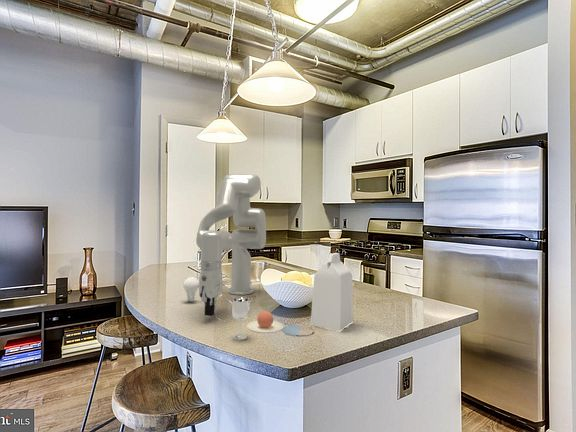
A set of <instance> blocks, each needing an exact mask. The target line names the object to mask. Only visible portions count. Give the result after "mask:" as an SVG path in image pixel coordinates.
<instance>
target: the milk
mask: <svg viewBox="0 0 576 432" xmlns="http://www.w3.org/2000/svg"><path fill="white" fill-rule="evenodd" d="M352 274H353V273H352V272H351V270H350V269H349V268H348V267H347V266H346V264H344V263H343V262H342V261H341V255H340V252H339V253H338V252H335V253H330V254H329V255H328V259H327V261H326V262H324V264H323V265H322V266H321V267H320V268H319V269H318V270H317V271H316V272H315V274H314V277H313V288H312V299H311V300H312V301H311V314H310V316H311V317H310V325H315V326H319V327H325V328H331V329H335V330H341V329H343V328H344V327H345V326H347V325H348V324H349V323H351V322H352V321H353V322H354V309H353V308H354V306H353V305H354V304H353V302H354V300H353V296H354V295H353V275H352Z"/></svg>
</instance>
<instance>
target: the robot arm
mask: <svg viewBox="0 0 576 432" xmlns="http://www.w3.org/2000/svg"><path fill="white" fill-rule="evenodd" d="M261 183H262V182H261V179H260V177H259V176H258V175H256V174H241V173H239V174H238V173H237V174H235V173H233V174H227V175H224V177H223V179H222V181H221V184H220V188H219V192H218V196H217V199H216V200H217V201H216V205H215V207H214V208H212V209H211V210H210V211H208V212H207V213H206V214H205V216H204V217H203V218H202V220H201V221H200V223H199V225H198V230H197V234H196V239H195V240H196V245H197V247H198V248H199V249H201V250H200V276H199V288H198V295H199V298H201V301H200V302H201V303H204V304H203V305H204V316H209V317H213V316H214V315H215V313H216V312H215V311H216V310H215V308H216V307H215V306H216V305H215V304H216V301H217V297H218V296H220V295H222V294H223V271H222V262H223V261H222V257H223V251H228V250H230V249H231V274H230V275H231V279H230V280H231V281H230V288H228V289H227V293H228V294H230V295H234V296H235V295H236V296H244V295H251V294H254V289H253V288H251V286H252V285H253V284H252V281H251V278H252V277H251V274H252V257H251V254H250V252H249V251H248V250H249V249H253V250H261V249H264V248H265V246H266V244H267V243H266V242H267V226H266V225H267V224H266V223H267V221H266V220H267V219H266V213H265V211H264V210H263V208H260V207H259V208H257V207H255V208H254V207H251V198H253V197H255V195H257V194H258V193H259V191H260V189H261ZM231 217H232V220H233V224H234V226H236V227H238V228H237V229H234V230H233V231H232V232H229V231H226V230H225V231H224V230H212V229H211V230H210V228H211V227H212V226H213V225H215V224H216V223H219V222H221V221H223V220H226V219H228V218H231ZM239 227H240V228H239ZM250 228H251V229H250ZM252 228H253V229H252Z"/></svg>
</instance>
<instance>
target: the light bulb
mask: <svg viewBox="0 0 576 432" xmlns="http://www.w3.org/2000/svg"><path fill="white" fill-rule="evenodd" d="M199 283H200V280H199V279H197V277H193V276H189V277H188V278H186V279H185V280H184V282H183V288H184V290H185V292H186V296H187V302H189V303H192V302H194V301H195V296H196V292H197V291H198V290H199Z"/></svg>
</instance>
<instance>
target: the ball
mask: <svg viewBox="0 0 576 432" xmlns="http://www.w3.org/2000/svg"><path fill="white" fill-rule="evenodd" d="M256 321H257V322H258V324H259V326H260V327H262V328H268V327H270V326H271V325H272V323H273V321H274V316H273V314H272V313H271V312H270V311H266V310H265V311H261V312H260V313H259V314H258V316H257V319H256Z"/></svg>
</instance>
